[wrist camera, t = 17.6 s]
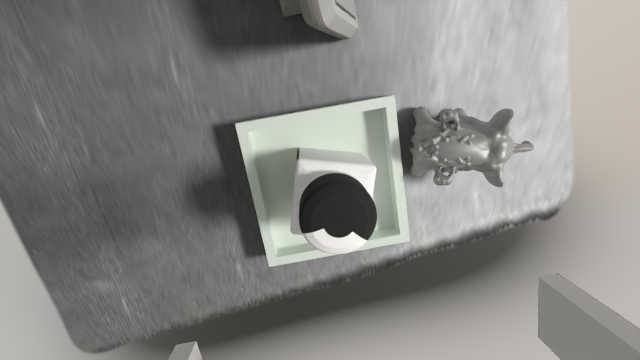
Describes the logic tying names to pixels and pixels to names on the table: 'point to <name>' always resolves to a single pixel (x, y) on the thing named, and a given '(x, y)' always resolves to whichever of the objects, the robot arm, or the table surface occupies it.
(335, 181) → the medicine bottle
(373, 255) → the table surface
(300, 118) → the tray
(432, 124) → the elephant statuette
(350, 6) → the digital clock
